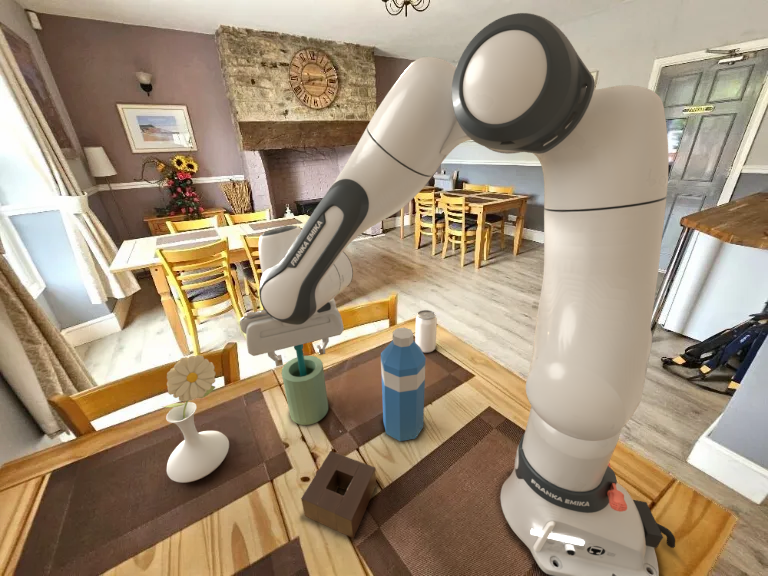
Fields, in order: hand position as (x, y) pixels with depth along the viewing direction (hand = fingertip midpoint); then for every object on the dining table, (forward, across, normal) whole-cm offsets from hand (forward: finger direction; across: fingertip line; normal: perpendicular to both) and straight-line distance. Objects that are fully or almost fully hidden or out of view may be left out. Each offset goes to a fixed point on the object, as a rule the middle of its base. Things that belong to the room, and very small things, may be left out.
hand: (301, 358), depth 70 cm
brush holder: (+16, +1, -24) cm, 29 cm away
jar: (+16, 0, 0) cm, 16 cm away
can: (+16, +39, +11) cm, 43 cm away
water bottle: (+16, +19, -13) cm, 28 cm away
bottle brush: (+15, 0, 0) cm, 15 cm away
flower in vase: (+16, -23, -4) cm, 28 cm away
